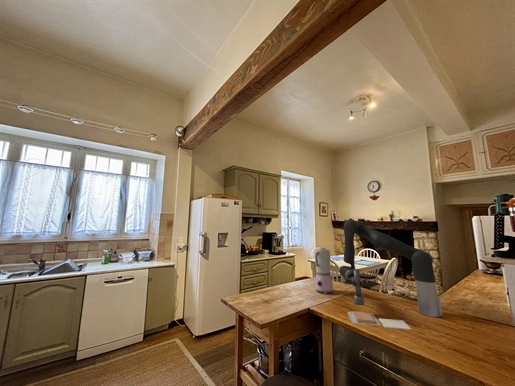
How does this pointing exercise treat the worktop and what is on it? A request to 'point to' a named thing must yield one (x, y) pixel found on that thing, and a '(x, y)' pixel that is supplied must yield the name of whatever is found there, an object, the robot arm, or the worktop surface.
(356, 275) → the grey pestle
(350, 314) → the mat
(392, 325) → the board
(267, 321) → the worktop surface
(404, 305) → the worktop surface
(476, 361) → the worktop surface
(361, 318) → the tile
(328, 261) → the blender
